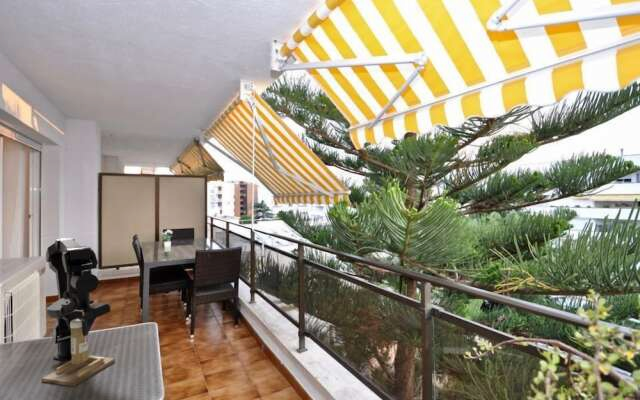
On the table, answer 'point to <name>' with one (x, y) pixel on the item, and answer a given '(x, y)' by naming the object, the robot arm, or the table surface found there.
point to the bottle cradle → (77, 371)
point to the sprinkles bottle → (78, 342)
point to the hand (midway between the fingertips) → (79, 334)
